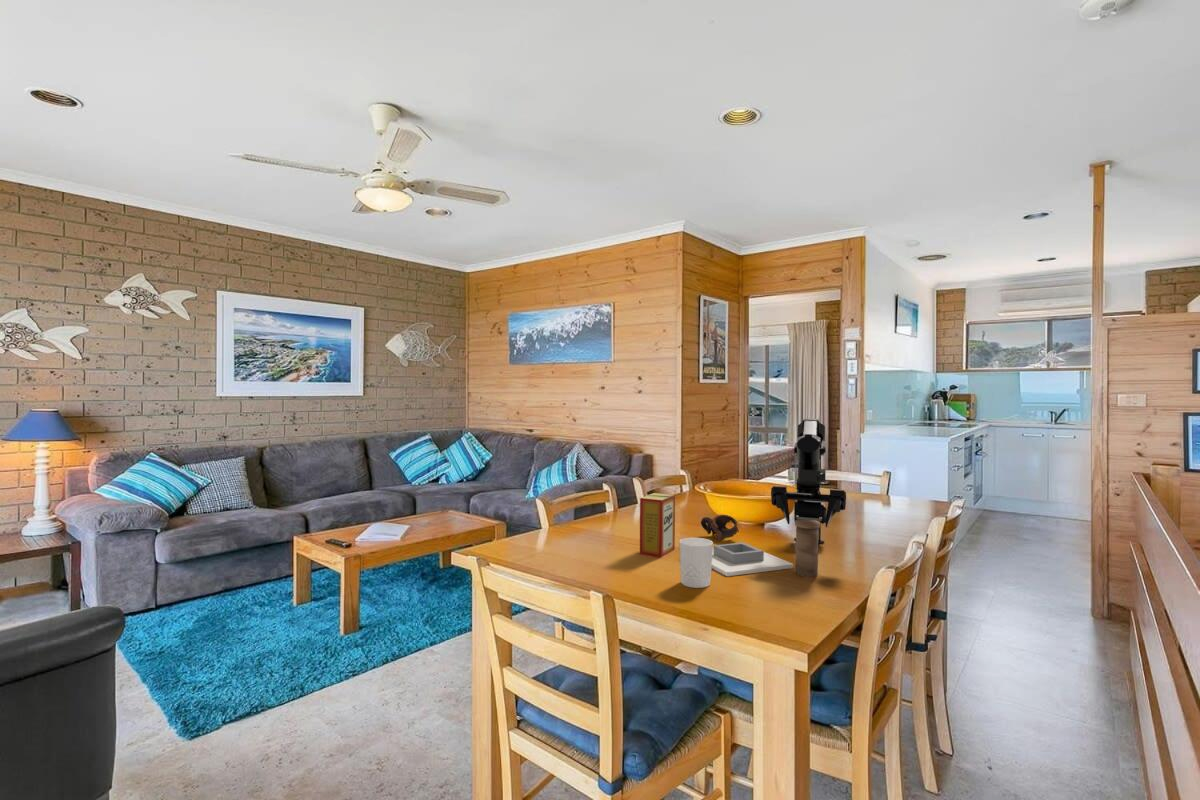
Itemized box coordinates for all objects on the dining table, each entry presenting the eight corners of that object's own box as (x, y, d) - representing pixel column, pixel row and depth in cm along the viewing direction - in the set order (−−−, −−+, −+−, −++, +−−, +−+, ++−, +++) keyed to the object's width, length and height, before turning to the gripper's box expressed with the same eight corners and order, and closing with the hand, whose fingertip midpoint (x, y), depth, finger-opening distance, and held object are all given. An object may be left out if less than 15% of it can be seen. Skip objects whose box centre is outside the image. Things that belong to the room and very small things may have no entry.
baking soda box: (661, 557, 164) (661, 499, 164) (639, 554, 167) (640, 496, 167) (674, 549, 172) (674, 493, 172) (653, 546, 176) (654, 491, 175)
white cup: (689, 576, 148) (690, 535, 148) (718, 583, 143) (719, 541, 143) (672, 584, 142) (672, 542, 142) (701, 591, 137) (702, 547, 137)
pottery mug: (739, 537, 189) (743, 517, 185) (730, 556, 182) (734, 537, 177) (703, 523, 194) (706, 504, 189) (692, 542, 186) (695, 522, 182)
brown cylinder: (808, 568, 154) (809, 518, 154) (824, 575, 149) (825, 523, 148) (788, 571, 152) (789, 520, 152) (805, 578, 147) (806, 525, 146)
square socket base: (747, 548, 174) (747, 536, 174) (793, 567, 155) (793, 554, 155) (686, 555, 166) (686, 542, 166) (727, 576, 148) (727, 562, 148)
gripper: (771, 456, 163) (768, 503, 152) (846, 459, 156) (847, 509, 146) (773, 481, 170) (770, 528, 160) (844, 485, 164) (845, 534, 154)
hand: (807, 524), depth 155 cm, fingers open, 9 cm apart
